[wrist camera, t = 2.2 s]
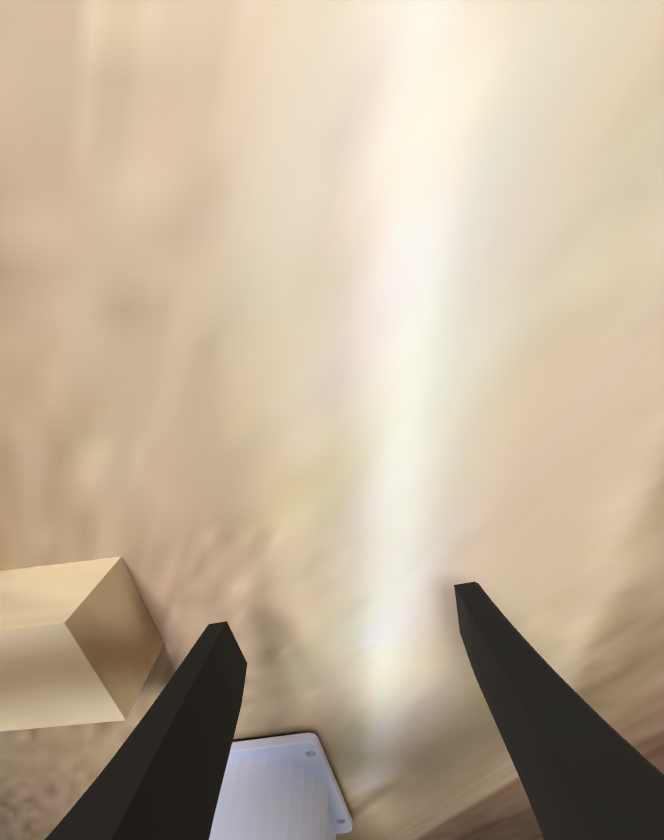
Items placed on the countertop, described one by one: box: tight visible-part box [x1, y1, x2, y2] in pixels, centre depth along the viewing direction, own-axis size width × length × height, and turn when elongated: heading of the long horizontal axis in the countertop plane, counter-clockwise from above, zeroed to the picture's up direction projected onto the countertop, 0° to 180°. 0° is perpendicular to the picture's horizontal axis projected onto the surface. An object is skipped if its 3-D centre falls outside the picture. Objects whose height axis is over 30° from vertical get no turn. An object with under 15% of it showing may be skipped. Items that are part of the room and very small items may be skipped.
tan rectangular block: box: [0, 557, 164, 731], centre depth 12 cm, size 5×8×3 cm, turn 99°
